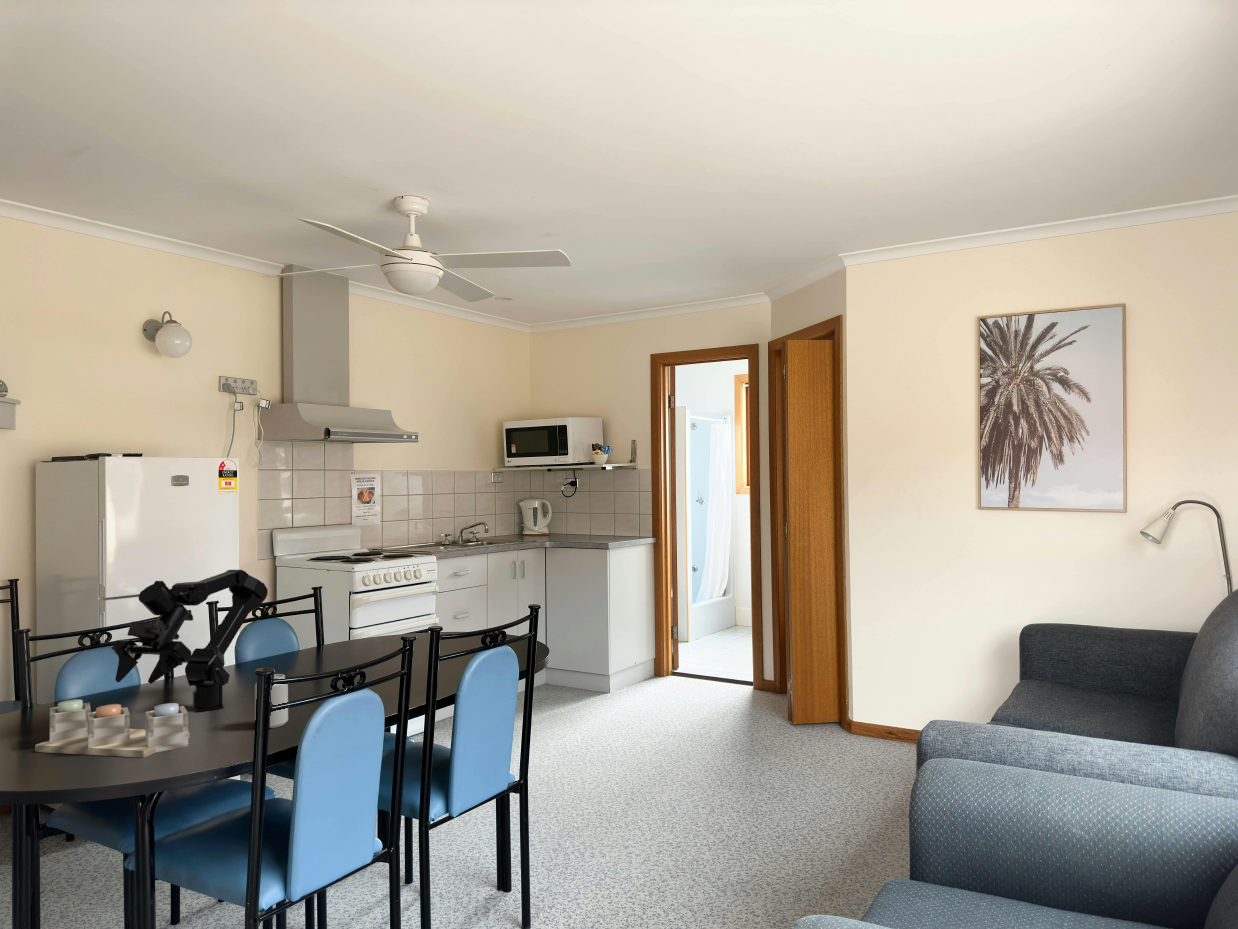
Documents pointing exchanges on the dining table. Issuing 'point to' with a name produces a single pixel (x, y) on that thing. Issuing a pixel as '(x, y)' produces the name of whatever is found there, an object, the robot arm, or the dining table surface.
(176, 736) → the button console
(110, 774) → the dining table surface
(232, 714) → the dining table surface
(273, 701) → the can
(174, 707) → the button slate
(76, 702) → the button sage
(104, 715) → the button terracotta
